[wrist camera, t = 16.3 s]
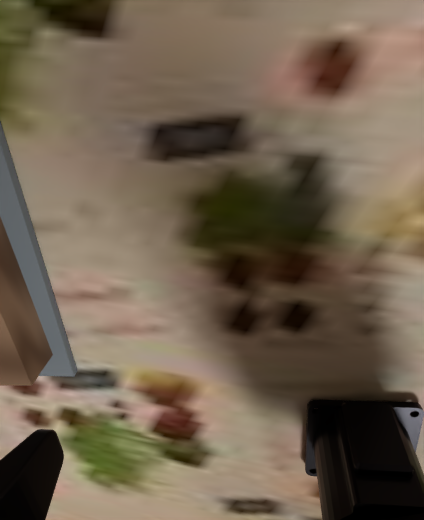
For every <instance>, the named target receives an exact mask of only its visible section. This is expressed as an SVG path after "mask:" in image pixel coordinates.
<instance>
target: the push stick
mask: <svg viewBox="0 0 424 520" xmlns="http://www.w3.org/2000/svg"><path fill="white" fill-rule="evenodd" d="M52 356H53V354H52V351H51V348H50V346H49V343H48V341H47V338H46V335H45V333H44V330H43V327H42V325H41V322H40V320H39V317H38V314H37V312H36V309H35V306H34V304H33V301H32V298H31V296H30V293H29V291H28V288H27V285H26V283H25V280H24V277H23V275H22V272H21V270H20V267H19V264H18V262H17V259H16V256H15V254H14V251H13V248H12V246H11V243H10V241H9V238H8V235H7V233H6V230H5V227H4V225H3V222H2V220H1V217H0V385H32V384H33V383H34V381H35V380H36V379H37V377H38V376H39V374H40V373H41V371H42V370H43V369H44V367H45V366H46V364H47V363H48V361H49V360H50V358H51V357H52Z"/></svg>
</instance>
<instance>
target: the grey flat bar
mask: <svg viewBox="0 0 424 520" xmlns="http://www.w3.org/2000/svg"><path fill="white" fill-rule="evenodd" d="M0 217H1V220H2V222H3V225H4V227H5V230H6V233H7V235H8V238H9V241H10V243H11V246H12V248H13V251H14V254H15V256H16V259H17V262H18V264H19V267H20V270H21V272H22V275H23V277H24V280H25V283H26V285H27V288H28V291H29V293H30V296H31V298H32V301H33V304H34V306H35V309H36V312H37V314H38V317H39V320H40V322H41V325H42V327H43V330H44V333H45V335H46V338H47V341H48V343H49V346H50V348H51V351H52V354H53V356H52V357H51V358H50V360H49V361H48V363H47V364H46V366H45V367H44V369H43V370H42V371H41V373H40V374H39V376H75V374H76V372H77V368H76V365H75V361H74V358H73V355H72V352H71V348H70V345H69V342H68V339H67V335H66V332H65V329H64V326H63V323H62V319H61V316H60V313H59V310H58V306H57V303H56V300H55V297H54V293H53V290H52V287H51V284H50V281H49V277H48V274H47V271H46V268H45V264H44V261H43V258H42V255H41V251H40V248H39V245H38V242H37V239H36V235H35V232H34V229H33V226H32V222H31V219H30V216H29V213H28V209H27V206H26V203H25V200H24V196H23V193H22V190H21V187H20V184H19V180H18V177H17V174H16V171H15V167H14V164H13V161H12V158H11V154H10V151H9V148H8V145H7V142H6V138H5V135H4V132H3V129H2V125H1V122H0Z"/></svg>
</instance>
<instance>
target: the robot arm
mask: <svg viewBox="0 0 424 520" xmlns="http://www.w3.org/2000/svg"><path fill="white" fill-rule="evenodd" d="M314 408H318V409H314ZM412 411H414V412H412ZM423 416H424V412H423V409H422V407H421V405H420V404H418V403H414V402H378V401H341V400H312V401H310V402H309V403H308V404H307V423H306V452H305V470H306V473H307V474H308V475H310V476H317V479H318V487H319V495H320V503H321V511H322V519H323V520H424V474H423V471H422V469H421V466H420V463H419V461H418V458H417V455H416V448H417V444H418V439H419V434H420V430H421V425H422V421H423ZM63 459H64V454H63V450H62V447H61V444H60V442H59V439H58V436H57V434H56V432H55V431H54V430H46V429H40V430H37V431H35V432H33V433H32V434H31V435H30V436H29V437H27V438H26V439H25V440H24V441H23V442H21V443H20V444H19V445H18V446H17V447H15V448H14V449H13V450H12V451H11V452H9V453H8V454H7V455H6V456H5V457H4V458H2V459H1V460H0V520H45V519H46V516H47V513H48V509H49V506H50V503H51V500H52V496H53V493H54V490H55V487H56V483H57V480H58V477H59V474H60V470H61V467H62V464H63Z"/></svg>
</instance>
